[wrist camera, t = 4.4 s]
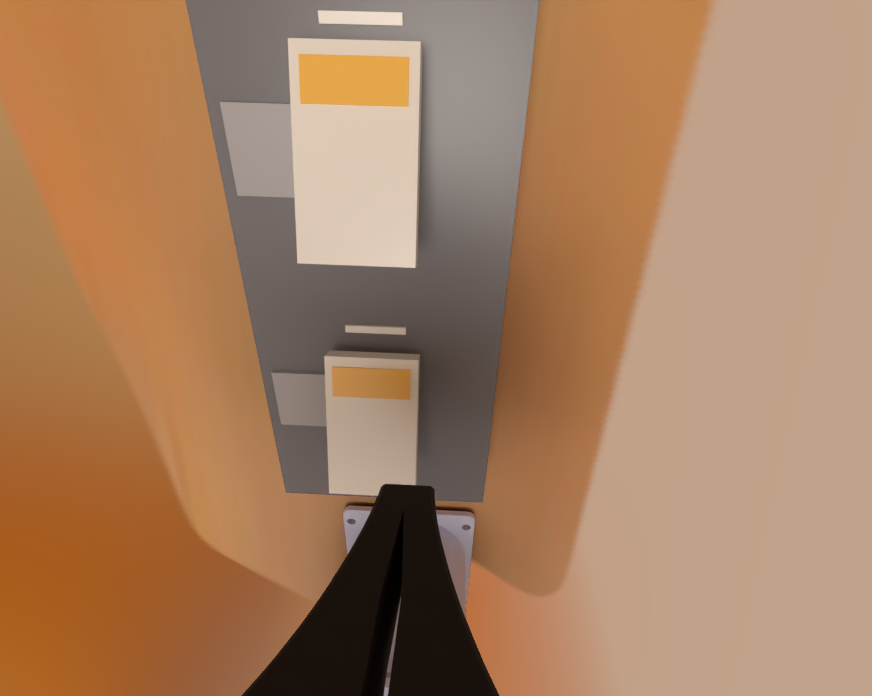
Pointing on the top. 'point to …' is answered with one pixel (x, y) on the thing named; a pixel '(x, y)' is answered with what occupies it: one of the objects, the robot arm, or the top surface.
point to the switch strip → (437, 225)
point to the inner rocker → (371, 420)
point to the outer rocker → (356, 150)
